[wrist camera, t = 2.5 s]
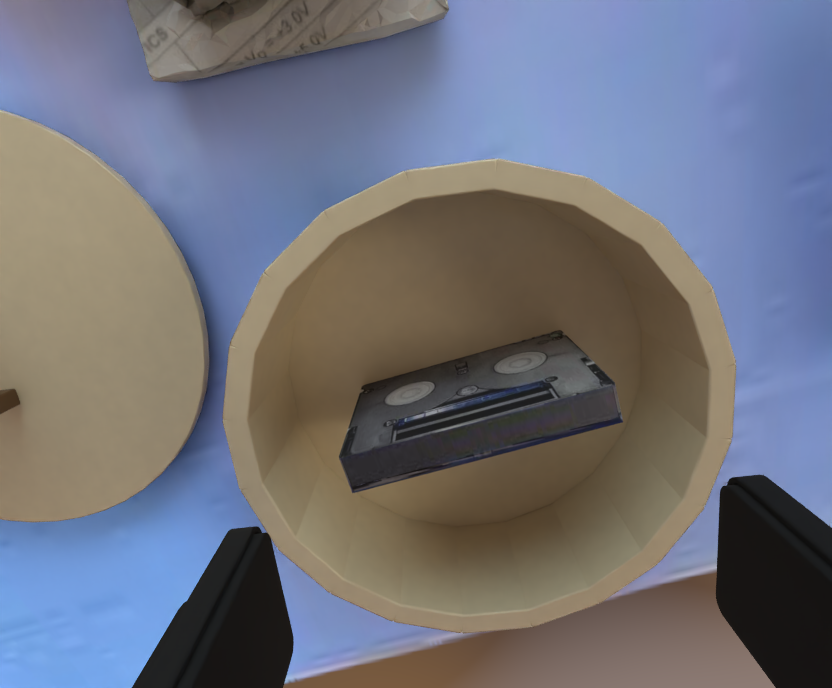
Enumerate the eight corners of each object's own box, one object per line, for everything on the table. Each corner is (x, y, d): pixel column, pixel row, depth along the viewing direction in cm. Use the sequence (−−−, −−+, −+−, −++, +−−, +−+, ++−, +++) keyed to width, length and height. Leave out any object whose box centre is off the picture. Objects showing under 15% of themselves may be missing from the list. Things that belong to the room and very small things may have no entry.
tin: (659, 144, 18) (751, 124, 13) (656, 517, 22) (723, 611, 17) (235, 200, 19) (166, 201, 14) (311, 550, 23) (279, 650, 18)
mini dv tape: (373, 418, 21) (354, 502, 15) (361, 385, 21) (338, 458, 15) (568, 364, 20) (626, 431, 14) (560, 329, 20) (616, 383, 14)
